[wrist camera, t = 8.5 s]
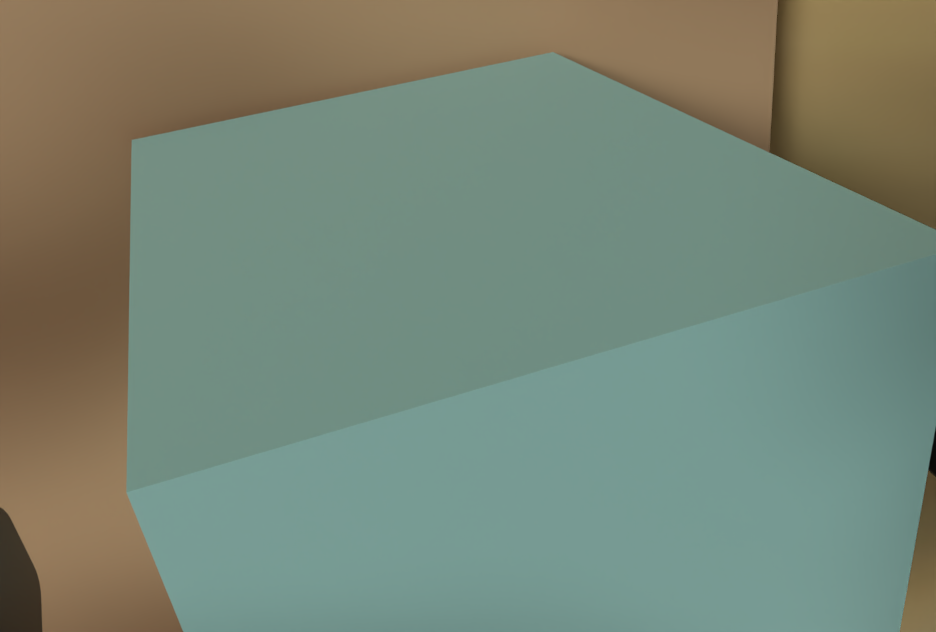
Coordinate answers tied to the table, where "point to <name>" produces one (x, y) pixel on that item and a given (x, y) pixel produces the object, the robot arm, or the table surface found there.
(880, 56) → the table surface
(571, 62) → the pale teal block
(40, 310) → the wooden base plate
